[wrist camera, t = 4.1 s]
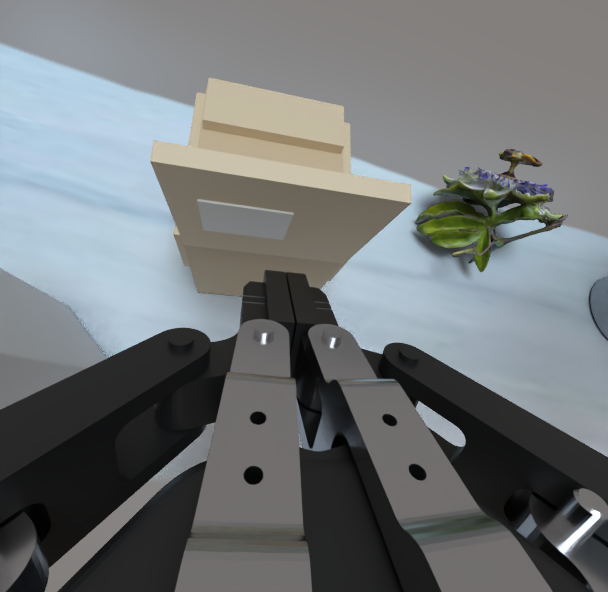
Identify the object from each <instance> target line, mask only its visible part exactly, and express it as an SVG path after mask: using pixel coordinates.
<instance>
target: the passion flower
mask: <svg viewBox="0 0 608 592" xmlns="http://www.w3.org/2000/svg"><path fill="white" fill-rule="evenodd" d="M499 156H500V159H502V160H505V161H510V162H511V166H510V169H509V171H507V172H504V173H502V174H499V175H497V174H495V173H493V172H490V171H488V170H482V169H480V168H479V169H478V170H473V169H471V168H469V167H465V170H464V172H463V171H460V170H459V171H460V175H459V176H460V178H459V179H449V178H448V177H446V175H443V179H444V182H445V183H446V184H447V189H441V190H438V191H436V192H435V193H434V194H433V195H434V196H435V195H446V196H456V197H463V201H459V200H451V201H449V202H447V201H446V202H443V203H439V204H436V205H434V206H432V207H430V208H427V210H425V211H424V212H423V213H422V214H421V215H419V216H418V218H417V221H416V224H418V223H420V222H422V221H425V220H429V221H427V222H424V223H423V224H420V225H419V226H418V227H417V230H418V231H419V232H420V233H421V234H423V235H424V236H427V237H428V238H430V240H431V242H433V243H434V244H436V245H438V246H440V247H444V248H461V247H465V246H468V245H472V244H475V243H477V246H475V247H472V248H469V249H466V250H460V251H458V252H454V253H452V256H453V257H458V256H460V255H464V254H471V253H472V254H474V259H472V260H471V261H470V262H469V263H471V262H473V261H475V263H476V265H477V267H478V269H479V271H480V272H483V271H484V269H485V268H486V266H487V263H488V261H489V257H490V252H492V251H494V250H495V249H497V248H500V247H502V246H504V245H505V244H507V243H509V242H511V241H515V240H518V239H522V238H524V237H527V236H530V235H534V234H537V233H540V232H545V231H550V230H552V229H554V228H557V227H561V225H562V223H563V222H562V221H563V220H565V218H567V217H568V215H565V216H563V214H552V213H551V212H550V210H549V208H548V207H545V206H543V204H544V203H546V202H552V201H553V195H554V191H553V190H552V188H546V186H547V185H546V184H545V185H537V184H534V183H532V182H530V181H519V180H517V179H516V178H515V176H514V169H515V167H516V166H517V165H518V164H525V165H532V166H536V167H539V166H541V165H542V164H543V163H542V162H540V161H538V160H537V159H536V158H534V157H531V156H530V155H525V154H523V153H522V151H516V150H514V149H510V150H509V149H507V150H505V151H504V152H500V153H499ZM513 203H519V204H521V205H520V206H517V207H514V208H511V209H509V210H507V211H505V212H503V213H502V214H500V213H498V211H497V210H498V208H501V207H504V206H507V205H509V204H513ZM470 205H481V206H483V207H484V208H485V209H486V210H487V212H488V214H489V216H485V215H484V214H483V213H478V212H476V211H475V209H474V207H471V206H470ZM438 218H440V219H438ZM535 219H537V220H539V222H540V223H545V224H546V226H545V227H544V228H542V229H539V230H535V231H531V232H529V233H525V234H522V235H518V236H515V237H512V238H500V237H497V236H496V235H495V229H494V228H495V227H496V226H498V225H500V224H507V223H511V222H515V221H516V220H535ZM549 219H550V220H549ZM490 236H491V237H490Z"/></svg>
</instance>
